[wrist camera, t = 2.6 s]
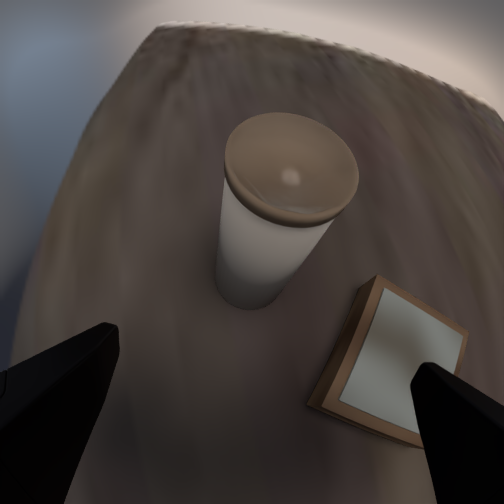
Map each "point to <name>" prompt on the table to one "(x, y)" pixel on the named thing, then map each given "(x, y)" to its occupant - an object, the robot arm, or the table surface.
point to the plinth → (385, 361)
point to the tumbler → (277, 202)
